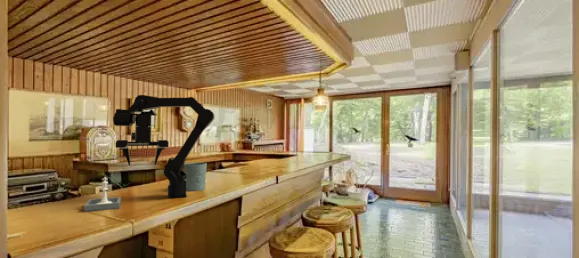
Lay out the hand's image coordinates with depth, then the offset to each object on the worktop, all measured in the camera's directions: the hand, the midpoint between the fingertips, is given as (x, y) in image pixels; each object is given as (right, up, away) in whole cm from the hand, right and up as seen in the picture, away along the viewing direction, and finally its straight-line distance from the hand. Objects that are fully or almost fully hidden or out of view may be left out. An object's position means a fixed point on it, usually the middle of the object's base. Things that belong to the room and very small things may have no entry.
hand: (142, 165), depth 114 cm
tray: (-6, -13, -15) cm, 21 cm away
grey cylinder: (+16, -14, +17) cm, 27 cm away
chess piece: (-6, -12, -15) cm, 20 cm away
